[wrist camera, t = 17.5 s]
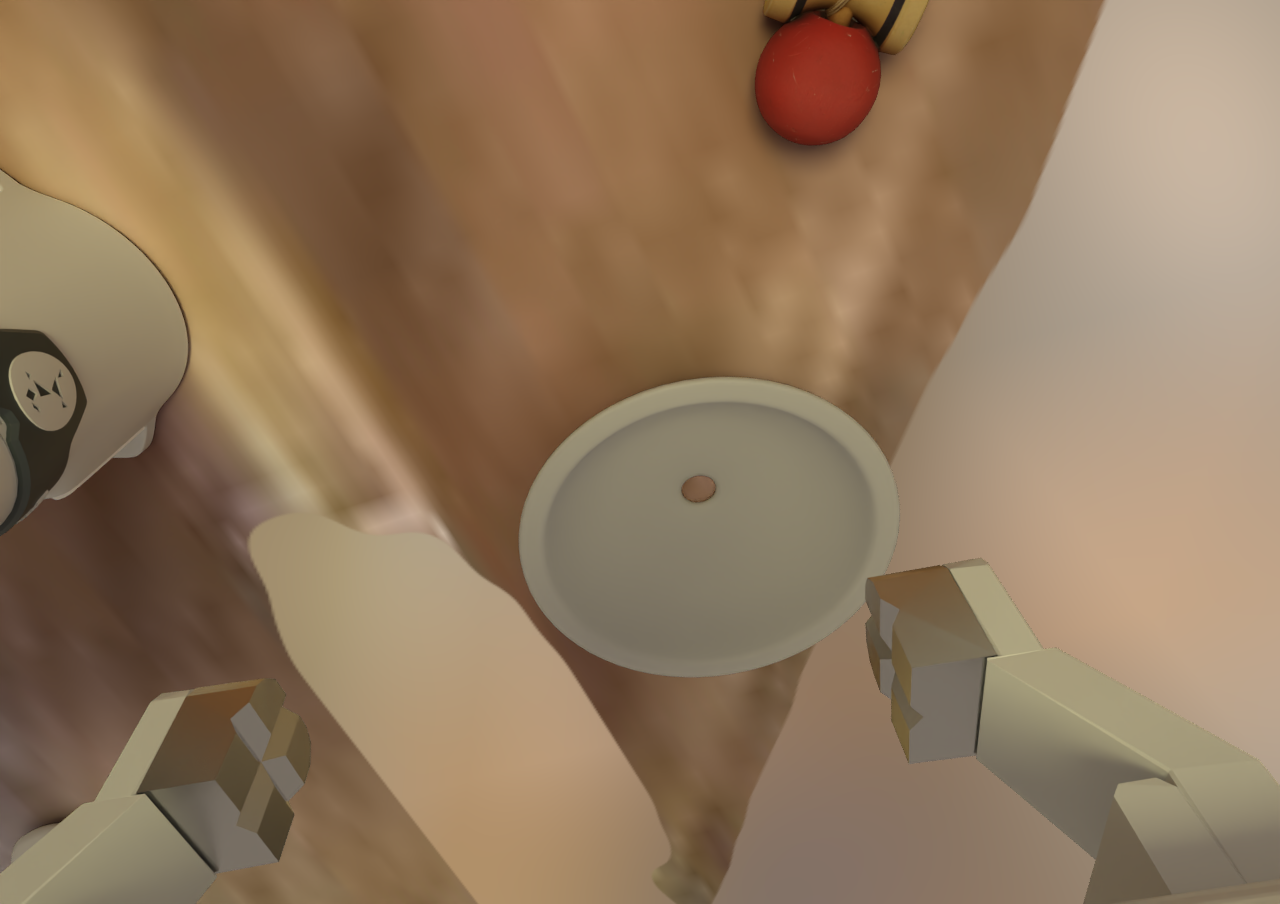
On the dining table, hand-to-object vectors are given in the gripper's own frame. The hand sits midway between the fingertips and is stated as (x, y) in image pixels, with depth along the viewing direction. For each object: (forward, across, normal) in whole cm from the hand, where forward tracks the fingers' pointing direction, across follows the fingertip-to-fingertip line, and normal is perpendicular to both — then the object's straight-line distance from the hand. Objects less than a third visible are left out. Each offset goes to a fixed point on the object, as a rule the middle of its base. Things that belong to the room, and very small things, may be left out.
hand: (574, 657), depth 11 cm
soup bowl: (+37, -3, +25) cm, 45 cm away
